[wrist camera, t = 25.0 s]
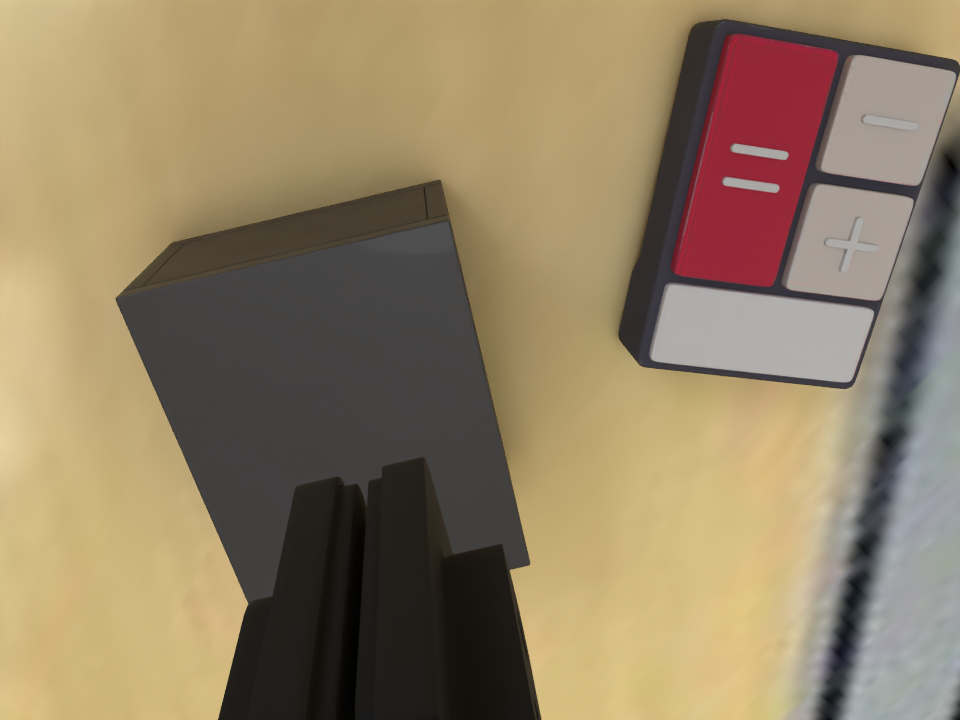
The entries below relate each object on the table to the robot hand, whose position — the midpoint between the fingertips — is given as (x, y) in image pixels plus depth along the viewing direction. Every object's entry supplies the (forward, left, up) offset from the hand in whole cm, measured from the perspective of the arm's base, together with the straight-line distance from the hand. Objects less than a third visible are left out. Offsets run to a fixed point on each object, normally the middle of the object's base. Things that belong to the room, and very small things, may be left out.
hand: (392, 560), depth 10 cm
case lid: (+9, -5, -21) cm, 23 cm away
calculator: (+5, +16, -28) cm, 32 cm away
